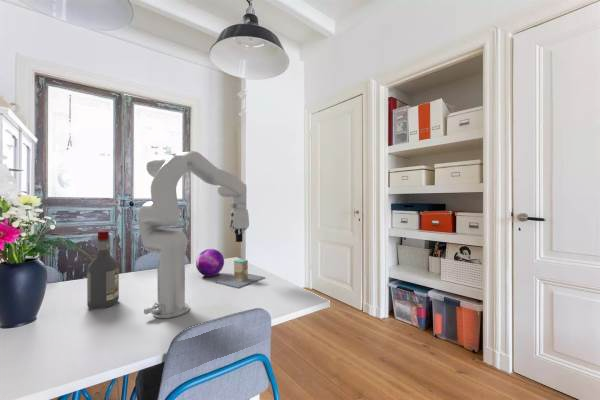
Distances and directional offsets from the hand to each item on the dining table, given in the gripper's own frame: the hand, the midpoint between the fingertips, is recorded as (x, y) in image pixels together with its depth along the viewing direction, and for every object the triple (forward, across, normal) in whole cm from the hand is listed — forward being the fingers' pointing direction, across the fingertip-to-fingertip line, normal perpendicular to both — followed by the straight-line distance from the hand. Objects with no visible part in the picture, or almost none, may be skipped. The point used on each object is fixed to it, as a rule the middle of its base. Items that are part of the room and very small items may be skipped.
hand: (239, 241), depth 142 cm
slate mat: (+21, +2, 0) cm, 21 cm away
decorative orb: (+21, -2, +21) cm, 30 cm away
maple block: (+20, +1, 0) cm, 20 cm away
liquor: (+21, -52, +24) cm, 62 cm away
